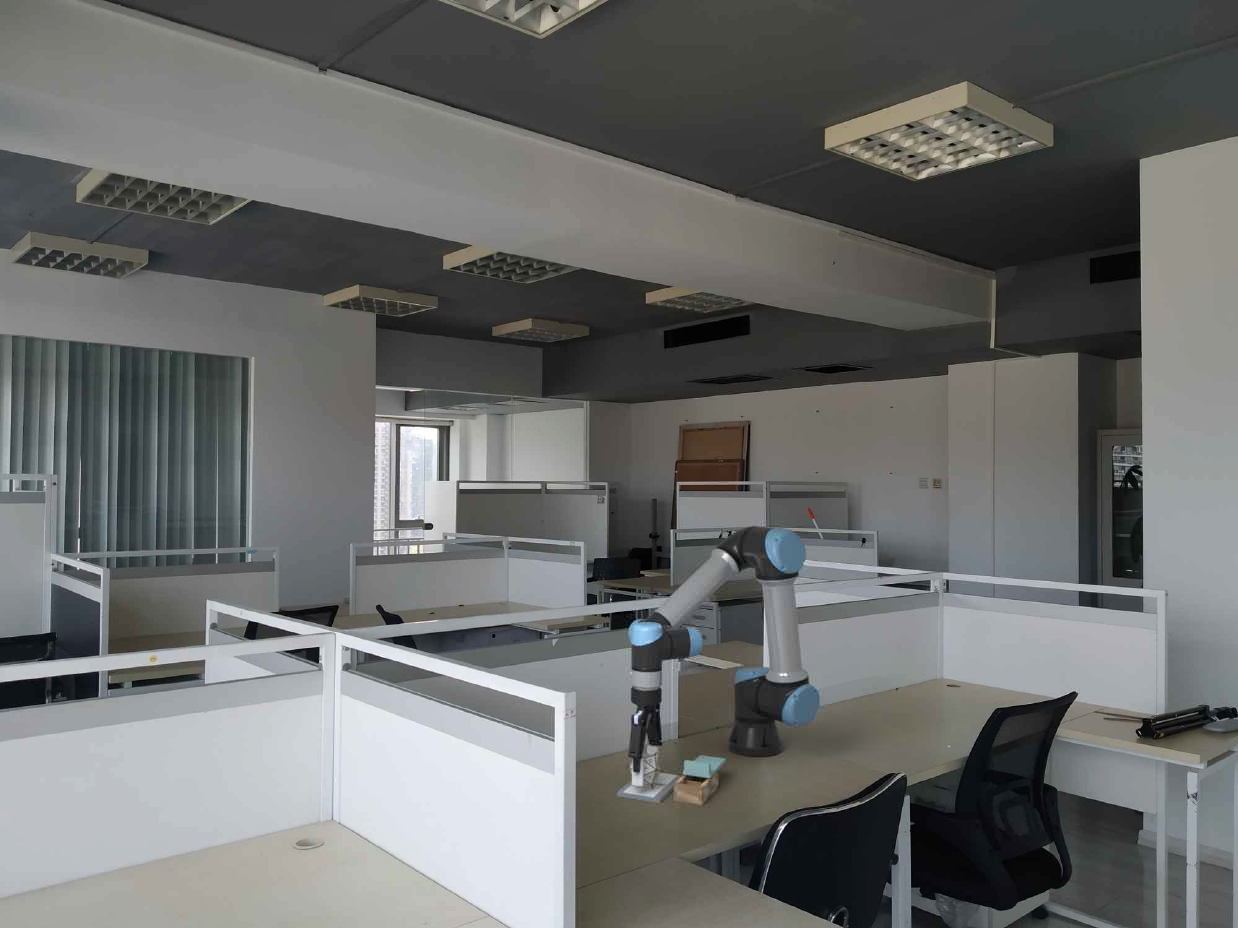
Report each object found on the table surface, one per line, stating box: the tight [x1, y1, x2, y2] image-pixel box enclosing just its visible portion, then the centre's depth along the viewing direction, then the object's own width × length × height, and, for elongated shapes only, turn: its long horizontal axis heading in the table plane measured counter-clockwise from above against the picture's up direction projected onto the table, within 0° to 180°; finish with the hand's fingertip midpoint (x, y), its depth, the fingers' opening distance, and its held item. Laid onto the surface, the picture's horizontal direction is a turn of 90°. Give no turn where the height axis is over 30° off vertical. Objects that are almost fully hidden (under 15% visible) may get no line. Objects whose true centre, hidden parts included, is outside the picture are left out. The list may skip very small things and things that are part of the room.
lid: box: [682, 754, 727, 778], centre depth 227 cm, size 14×7×3 cm, turn 157°
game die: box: [625, 752, 665, 788], centre depth 220 cm, size 9×8×10 cm
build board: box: [616, 772, 683, 804], centre depth 224 cm, size 18×11×1 cm, turn 157°
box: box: [673, 770, 719, 806], centre depth 220 cm, size 14×7×4 cm, turn 157°
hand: (645, 778), depth 220 cm, fingers closed on game die, 9 cm apart
